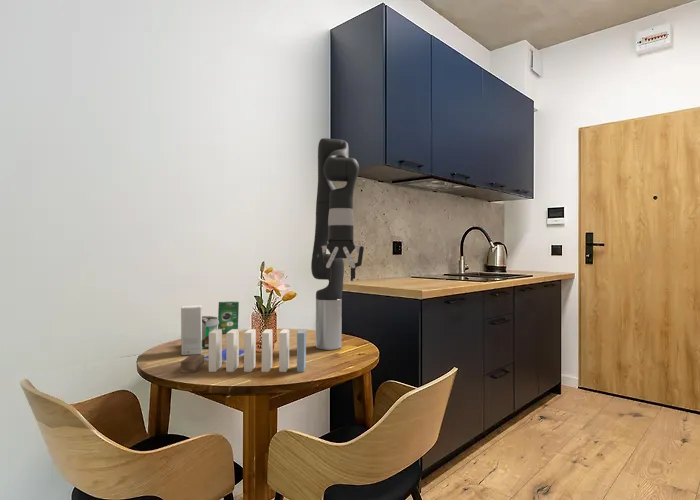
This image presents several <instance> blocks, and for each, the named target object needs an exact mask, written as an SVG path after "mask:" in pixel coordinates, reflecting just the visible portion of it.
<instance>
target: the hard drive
mask: <svg viewBox="0 0 700 500" xmlns="http://www.w3.org/2000/svg"><path fill="white" fill-rule="evenodd" d="M242 356H244V349H243V350H241V349H239V358H240V357H242ZM204 361H206V362H207V361H208V362H209V354H207V355H204ZM222 363H226V349H222Z"/></svg>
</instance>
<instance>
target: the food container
mask: <svg viewBox="0 0 700 500" xmlns="http://www.w3.org/2000/svg"><path fill="white" fill-rule="evenodd" d="M218 324H219V320H218V316H213V315H212V316H211V315H205V316H204V315H202V349H204V350H209V332H211V331H213V330H214V329H218Z"/></svg>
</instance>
